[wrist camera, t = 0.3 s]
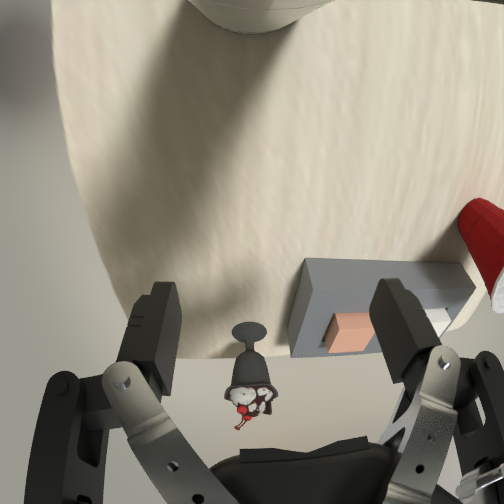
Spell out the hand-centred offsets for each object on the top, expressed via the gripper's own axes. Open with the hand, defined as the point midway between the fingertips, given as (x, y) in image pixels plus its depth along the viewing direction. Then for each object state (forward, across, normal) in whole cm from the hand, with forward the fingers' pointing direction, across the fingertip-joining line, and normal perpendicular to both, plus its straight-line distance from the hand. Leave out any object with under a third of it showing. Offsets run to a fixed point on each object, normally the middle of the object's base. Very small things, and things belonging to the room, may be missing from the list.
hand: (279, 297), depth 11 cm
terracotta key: (+15, -11, +19) cm, 27 cm away
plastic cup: (+18, -28, +5) cm, 34 cm away
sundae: (+19, +1, +26) cm, 32 cm away
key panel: (+18, -17, +19) cm, 32 cm away
